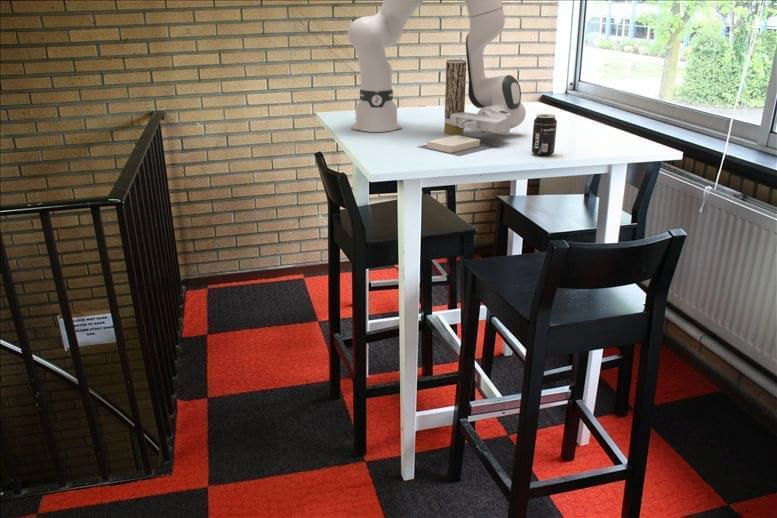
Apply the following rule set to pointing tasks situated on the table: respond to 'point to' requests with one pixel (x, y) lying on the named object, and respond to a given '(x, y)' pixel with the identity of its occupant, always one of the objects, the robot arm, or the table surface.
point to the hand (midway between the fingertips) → (462, 125)
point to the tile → (453, 144)
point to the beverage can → (544, 135)
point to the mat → (482, 147)
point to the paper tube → (454, 93)
